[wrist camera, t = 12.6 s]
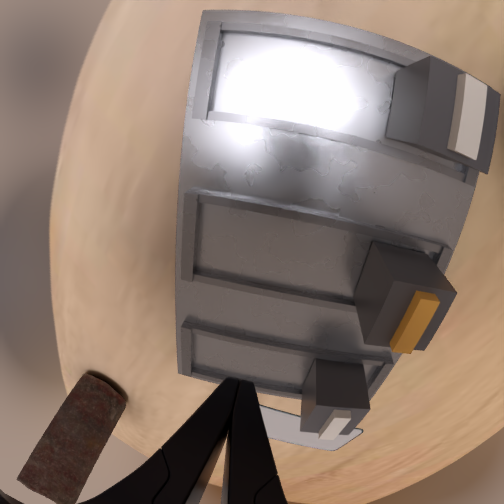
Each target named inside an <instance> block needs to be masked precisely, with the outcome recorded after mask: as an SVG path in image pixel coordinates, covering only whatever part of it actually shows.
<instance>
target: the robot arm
mask: <svg viewBox="0 0 504 504" xmlns="http://www.w3.org/2000/svg"><path fill="white" fill-rule="evenodd" d="M227 434H228V436H227ZM226 438H227V443H226V454H225V464H224V475H223V486H222V497H221V504H288V503H287V500H286V498H285V495H284V492H283V489H282V486H281V482H280V479H279V476H278V475H277V474H278V472H277V469H276V465H275V461H274V458H273V454H272V451H271V447H270V443H269V439H268V436H267V432H266V428H265V424H264V421H263V417H262V413H261V409H260V405H259V401H258V397H257V393H256V389H255V385H254V383H253V381H249V380H244V379H241V380H240V379H239V378H235V377H231V376H227V377H226V378H225V379H224V380H223V381H222V382H221V384H220V385H219V386H218V387H217V388H216V389H215V390H214V391H213V393H212V394H211V395H210V396H209V397H208V398H207V399H206V400H205V401H204V402H203V404H202V405H201V406H200V407H199V408H198V409H197V410H196V411H195V412H194V413H193V414H192V415H191V417H190V418H189V419H188V420H187V421H186V422H185V423H184V424H183V425H182V426H181V427H180V428H179V429H178V430H177V431H176V432H175V433H174V434H173V435H172V436H171V437H170V438H169V440H168V441H167V442H166V443H165V444H164V445H163V446H162V447H161V448H162V449H161V448H160V449H158V450H157V451H156V452H155V453H154V454H153V455H152V456H151V457H150V458H149V459H148V460H147V461H146V462H145V463H144V464H142V465H141V466H140V467H139V468H138V469H136V470H135V471H134V472H132V473H131V474H130V475H128V476H127V477H125V478H124V479H122V480H121V481H120V482H118V483H116V484H115V485H114V486H112V487H110V488H109V489H107V490H106V491H104V492H103V493H101V494H99V495H98V496H96V497H94V498H92V499H89V500H87V501H85V502H81V503H78V504H199V502H200V500H201V498H202V495H203V493H204V491H205V489H206V486H207V484H208V482H209V479H210V477H211V475H212V472H213V470H214V468H215V465H216V463H217V460H218V458H219V456H220V453H221V451H222V448H223V446H224V443H225V441H226ZM0 504H23V503H22V502H20V501H18V500H16V499H14V498H12V497H10V496H9V495H7V494H5V493H4V492H3V491H2V490H0Z"/></svg>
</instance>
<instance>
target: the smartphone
mask: <svg viewBox="0 0 504 504" xmlns="http://www.w3.org/2000/svg"><path fill="white" fill-rule="evenodd" d="M259 405H260V404H259ZM260 409H261V413H262V417H263V421H264V424H265V428H266V432H267V436H268V438H272V439H275V440H280V441H284V442H288V443H292V444H297V445H302V446H307V447H312V448H317V449H323V450H329V451H335V450H337V449H339V448H341V447H342V446H344V445H345V444H347V443H348V442H350V441H351V440H353V439H354V438H356V437H357V436H358V435H360V434H361V433H363V429H359V428H354V429H353V431H352V432H351V433H350V434H349V435H337V437H336V438H335V439H334V440H324V439H318V437H319V433H309V432H300V420H301V416H298V415H295V414H291V413H287V412H284V411H280V410H276V409H273V408H270V407H266V406H263V405H260Z"/></svg>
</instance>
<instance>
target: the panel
mask: <svg viewBox="0 0 504 504" xmlns="http://www.w3.org/2000/svg"><path fill="white" fill-rule="evenodd" d="M428 56H433V55H430V54H428V53H426V52H424V51H421V50H419V49H416V48H414V47H412V46H409V45H406V44H404V43H401V42H399V41H396V40H393V39H390V38H387V37H384V36H381V35H378V34H375V33H372V32H369V31H365V30H362V29H358V28H354V27H351V26H347V25H343V24H338V23H334V22H330V21H325V20H320V19H315V18H309V17H303V16H296V15H289V14H281V13H272V12H261V11H245V10H203V12H202V17H201V22H200V26H199V31H198V37H197V42H196V47H195V53H194V59H193V65H192V71H191V78H190V84H189V91H188V98H187V106H186V114H185V123H184V131H183V141H182V151H181V163H180V175H179V189H178V206H177V227H176V265H175V305H176V342H177V363H178V373H179V374H182V375H186V376H189V377H193V378H197V379H201V380H204V381H208V382H212V383H216V384H221V382H222V381H223V380H224V379H225V378H226V377H227V376H231V377H235V378H239V379H240V380H241V379H244V380H249V381H253V383H254V385H255V389H256V392H258V393H263V394H269V395H275V396H281V397H287V398H294V399H301V400H302V387H303V385H304V383H305V381H306V378H307V376H308V374H309V372H310V370H311V367H312V365H313V363H314V361H315V358H318V359H325V360H332V361H339V362H347V363H356V364H363V365H364V371H365V377H366V383H367V389H368V396H369V401H370V400H371V398H372V397H373V396H374V394H375V393H376V392H377V390H378V389H379V387H380V386H381V385H382V383H383V382H384V380H385V379H386V377H387V376H388V374H389V373H390V371H391V370H392V368H393V367H394V365H395V364H396V362H397V361H398V359H399V358H400V356H401V355H402V353H396V352H392V350H391V347H382V346H374V345H366V344H364V341H363V336H362V332H361V327H360V323H359V319H358V314H357V310H356V306H355V302H354V298H353V296H354V293H355V290H356V288H357V285H358V282H359V280H360V277H361V274H362V271H363V269H364V266H365V263H366V260H367V257H368V254H369V251H370V248H371V245H372V242H373V241H375V242H380V243H384V244H388V245H392V246H397V247H401V248H405V249H409V250H413V251H417V252H421V253H425V254H428V256H429V257H430V258H431V259H432V260H433V262H434V263H435V264H436V265H437V267H438V268H439V269H440V271H441V272H442V273H443V274H445V271H446V269H447V267H448V264H449V262H450V260H451V257H452V255H453V252H454V250H455V247H456V245H457V242H458V239H459V237H460V234H461V231H462V228H463V225H464V223H465V220H466V217H467V214H468V210H469V207H470V204H471V201H472V197H473V194H474V190H475V187H476V183H477V179H478V175H479V171H478V170H475V169H472V168H470V167H467V166H464V165H461V164H459V163H456V162H453V161H450V160H447V159H444V158H442V157H439V156H437V155H434V154H432V153H429V152H426V151H424V150H421V149H418V148H415V147H413V146H410V145H407V144H404V143H401V142H398V141H395V140H392V139H389V138H386V132H387V127H388V122H389V116H390V111H391V105H392V98H393V92H394V85H395V78H396V71H397V70H399V69H402V68H404V67H406V66H408V65H410V64H412V63H415V62H417V61H419V60H421V59H424V58H426V57H428ZM433 57H435V56H433ZM435 58H437V57H435ZM437 59H439V58H437ZM440 60H441V59H440ZM442 61H443V60H442ZM444 62H445V61H444ZM446 63H447V62H446ZM448 64H449V63H448ZM450 65H451V64H450ZM452 66H453V65H452ZM454 67H455V66H454ZM456 68H457V67H456ZM458 69H459V68H458ZM459 70H461V69H459ZM461 71H463V70H461ZM463 72H464V71H463ZM465 73H466V72H465ZM467 74H468V73H467ZM469 75H470V74H469ZM470 76H472V75H470ZM472 77H473V76H472ZM474 78H475V77H474ZM475 79H477V78H475ZM477 80H478V79H477ZM479 81H480V80H479ZM481 82H482V81H481ZM482 83H483V82H482ZM484 84H485V83H484ZM485 85H487V84H485ZM487 86H488V85H487ZM489 87H490V86H489ZM490 88H491V87H490Z"/></svg>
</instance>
